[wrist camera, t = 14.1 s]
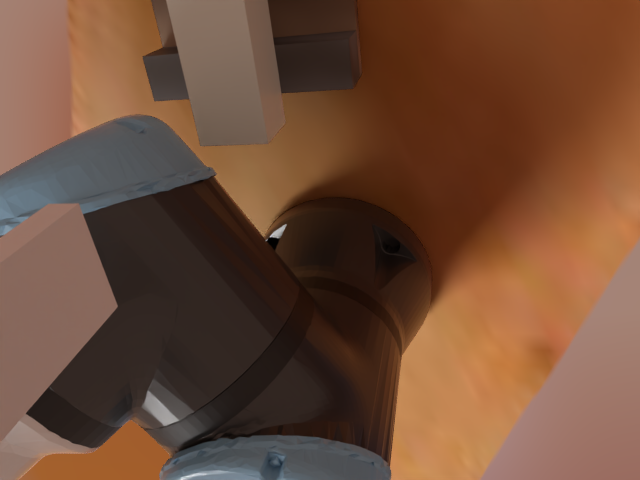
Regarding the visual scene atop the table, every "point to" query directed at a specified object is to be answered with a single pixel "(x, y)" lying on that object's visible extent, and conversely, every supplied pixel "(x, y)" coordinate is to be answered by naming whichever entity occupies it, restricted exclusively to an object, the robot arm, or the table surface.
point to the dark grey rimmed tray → (279, 48)
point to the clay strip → (229, 69)
